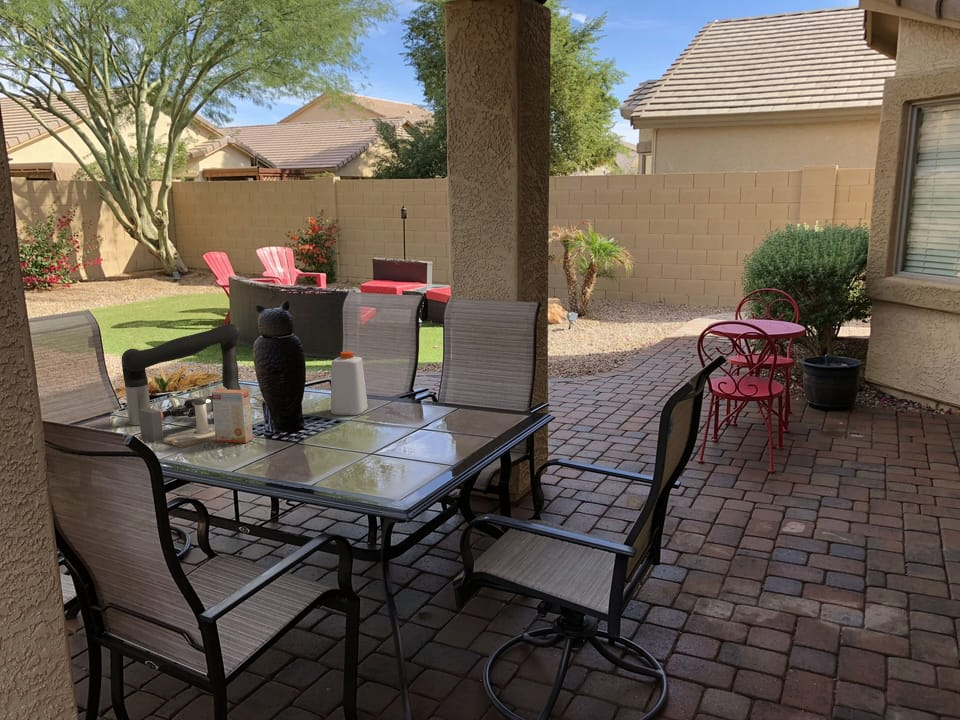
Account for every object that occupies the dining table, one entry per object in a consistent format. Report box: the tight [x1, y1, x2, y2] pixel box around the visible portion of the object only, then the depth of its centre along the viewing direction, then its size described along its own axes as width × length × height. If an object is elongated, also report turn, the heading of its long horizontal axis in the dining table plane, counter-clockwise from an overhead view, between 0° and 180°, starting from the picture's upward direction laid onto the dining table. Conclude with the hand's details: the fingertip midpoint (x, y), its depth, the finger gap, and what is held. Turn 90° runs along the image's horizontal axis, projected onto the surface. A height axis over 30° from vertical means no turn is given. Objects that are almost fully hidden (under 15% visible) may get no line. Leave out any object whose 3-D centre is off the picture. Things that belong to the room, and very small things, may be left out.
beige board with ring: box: [162, 427, 216, 448], centre depth 308 cm, size 14×20×2 cm
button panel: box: [139, 407, 164, 442], centre depth 309 cm, size 10×4×12 cm, turn 52°
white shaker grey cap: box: [193, 396, 209, 433], centre depth 312 cm, size 5×5×14 cm
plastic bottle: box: [330, 350, 369, 416], centre depth 346 cm, size 15×15×28 cm
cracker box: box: [211, 388, 254, 444], centre depth 303 cm, size 14×6×21 cm, turn 74°
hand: (160, 415), depth 312 cm, fingers closed
